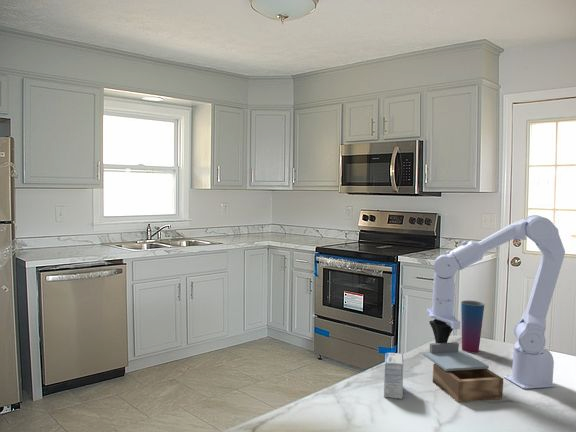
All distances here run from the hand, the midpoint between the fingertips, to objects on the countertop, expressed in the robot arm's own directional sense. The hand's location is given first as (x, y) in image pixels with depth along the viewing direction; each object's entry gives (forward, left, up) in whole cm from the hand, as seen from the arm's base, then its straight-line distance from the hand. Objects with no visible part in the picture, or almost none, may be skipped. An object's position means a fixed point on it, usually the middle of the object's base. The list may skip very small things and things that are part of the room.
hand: (440, 347), depth 139 cm
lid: (0, +7, -1) cm, 7 cm away
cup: (-19, -15, -7) cm, 25 cm away
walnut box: (0, +13, -7) cm, 15 cm away
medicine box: (+19, +11, -7) cm, 23 cm away
